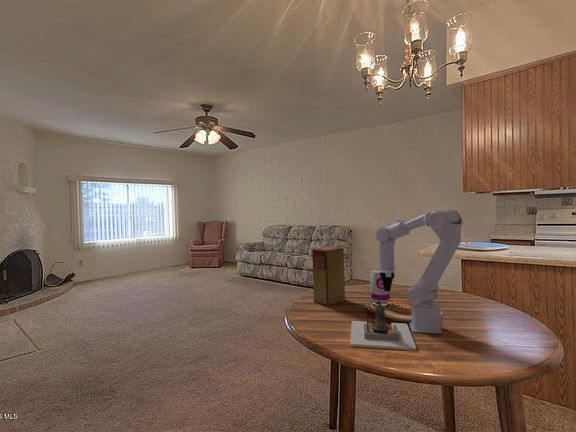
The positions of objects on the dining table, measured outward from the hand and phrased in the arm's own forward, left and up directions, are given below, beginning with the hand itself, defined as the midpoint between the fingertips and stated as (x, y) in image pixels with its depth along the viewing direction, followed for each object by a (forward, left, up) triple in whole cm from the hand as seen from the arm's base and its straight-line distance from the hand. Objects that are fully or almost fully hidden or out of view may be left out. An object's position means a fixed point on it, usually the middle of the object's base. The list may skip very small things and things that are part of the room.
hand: (387, 290), depth 126 cm
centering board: (+4, +19, -10) cm, 22 cm away
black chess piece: (+4, +20, -11) cm, 23 cm away
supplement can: (+2, -15, -11) cm, 19 cm away
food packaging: (+25, -17, -11) cm, 32 cm away
